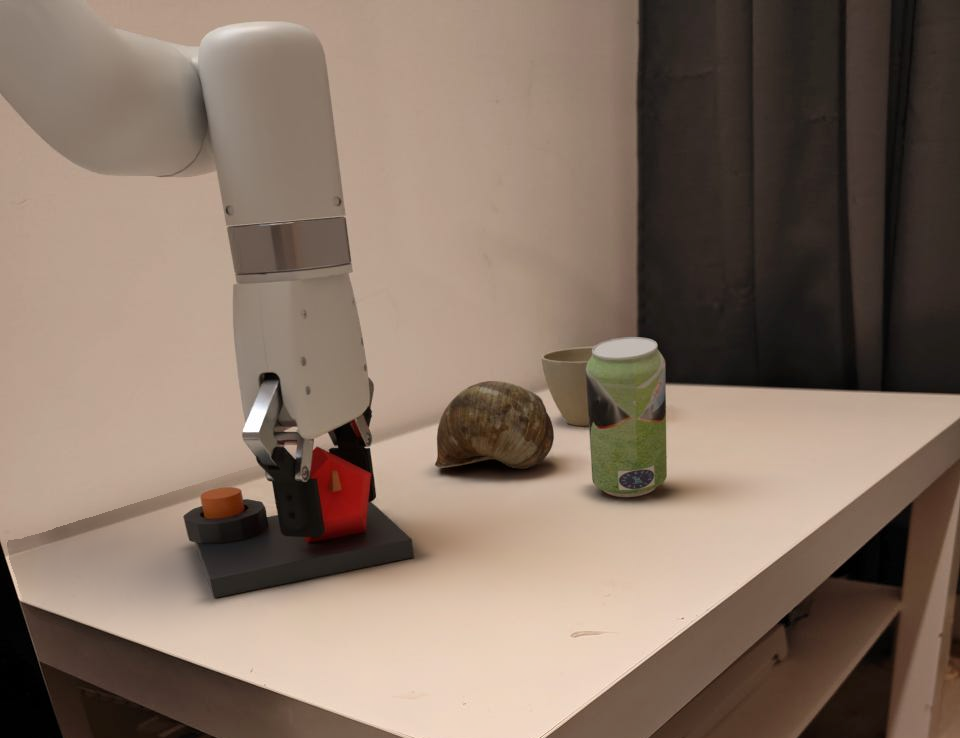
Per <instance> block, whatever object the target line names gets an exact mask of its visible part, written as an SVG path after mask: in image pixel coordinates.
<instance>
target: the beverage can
mask: <svg viewBox="0 0 960 738" xmlns="http://www.w3.org/2000/svg"><path fill="white" fill-rule="evenodd" d="M658 346H659V345H658V343H657V341H655V340H654V339H651V338H647V337H639V336H627V337H626V336H625V337H618V338H612V339H608V340H604V341H601V342H599V343H597V344H595V345H594V346H593V347H594V348H593V349H592V353H593V354H592V356H591V358H590V360H589V361H588V363H587V366H586V383H587V399H588V416H589V426H588V429H589V445H590V447H589V449H590V464H591V479H592V483H593V484H594V486H595V487H596V488H598V489H600V490H601V491H603V492H604V493H605V494H607V495H609V496H613V497H617V498H635V497H641V496H644V495H647V494H650V493H652V492H653V491H654V490H656V489H657V487H659V486H660V485H662V484H663V483H664V482H665V481H666V479H667V476H668V475H667V474H668V472H667V471H668V467H667V466H668V465H667V462H668V461H667V389H666V388H667V386H666V384H667V382H666V379H667V378H666V375H667V374H666V359H665V358H664V356H663V354H662V353H661V351H660V350H659V349H658Z"/></svg>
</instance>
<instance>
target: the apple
mask: <svg viewBox="0 0 960 738" xmlns="http://www.w3.org/2000/svg"><path fill="white" fill-rule="evenodd" d="M310 478H317V482H318V488H319V495H320V501H321V508H322V514H323V521H324V527H325V533H324V534H323V535H322V536H320V537H318V538H313V537H304V538H305V540H306V541H307V543H310V542H315V541H321V540H326V539H331V538H336V537H342V536H347V535H352V534H357V533H363V532H365V531H366V521H367V511H368V500H369V490H370V480H371V473H370V472H368V471H366V470H364V469H362V468H360V467H358V466H356V465H354V464H352V463H350V462H348V461H346V460H344V459H342V458H340V457H338V456H336V455H334V454H332V453H330V452H329V450H328V451H327V450H326V449H324V448H321V447H319V446H315V447H314V448H313V454H312V463H311V472H310Z"/></svg>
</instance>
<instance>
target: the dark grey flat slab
mask: <svg viewBox="0 0 960 738" xmlns="http://www.w3.org/2000/svg"><path fill="white" fill-rule="evenodd" d="M243 502H244V508H245V512H243V513H241V514H238V515H235V516H230V517H225V518H212V519H208V518H205V517H204V512H203V508H202V505H200V506H197V507H194V508H192V509H191V510H189V511H187V512H186V513H185V514H184V515H183V522H184V526H185V531H186V534H187V537H188V540H189V541H190V542H193V543H194V546H195V548H196V552H197V554H198V558H199V560H200V562H201V566H202V569H203V571H204V573H205V577H206V579H207V580H206V581H207V582H208V585H209V588H210V592H211V594H212V597H213V598H214V599H216V598H221V597H227V596H231V595H235V594H240V593H245V592H250V591H256V590H260V589H261V590H262V589H266V588H269V587H275V586H280V585H281V586H282V585H284V584H290V583H296V582H300V581H305V580H309V579H314V578H320V577H324V576H330V575H334V574H338V573H343V572H344V573H345V572H348V571H353V570H358V569H359V570H360V569H364V568H368V567H373V566H379V565H383V564H389V563H392V562H398V561H402V560H409V559H413V558H414V557H415V555H414V554H415V553H414V546H413V538H411V537H410V536H409V535H408V533H406V532H405V531H404V530H403V529H401V528H400V527H399V526H398V524H396V523H395V522H394V521H393V520H392V519H391V518H390V517H389V516H387V515H386V514H385V513H384V512H383V511H382V510H381V509H380V508H379V507H378V506H377V505H375V504H374V502H373V501H372V502H368V511H367V521H366V531H365V532H363V533H357V534H352V535H347V536H342V537H336V538H331V539H326V540H321V541H315V542H310V543H307V541H306V540H305V538H304V537H292V536H284V535H283V534H282V533H281V531H280V525H279V519H278V514H275V515H270V516H269V515H267V509H266V506H265V504H264V503H263V501H260V500H254V499H249V498H243Z"/></svg>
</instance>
